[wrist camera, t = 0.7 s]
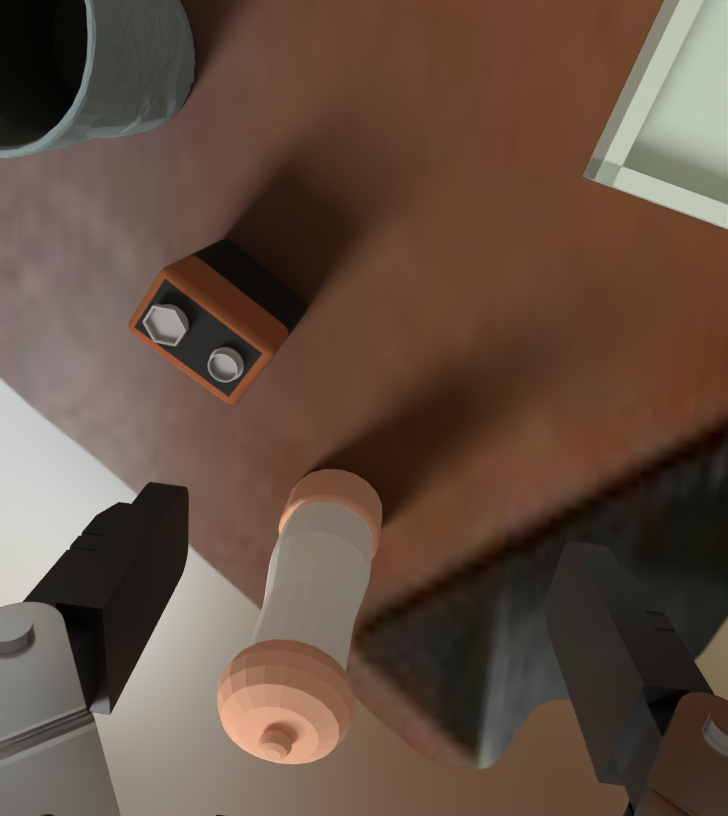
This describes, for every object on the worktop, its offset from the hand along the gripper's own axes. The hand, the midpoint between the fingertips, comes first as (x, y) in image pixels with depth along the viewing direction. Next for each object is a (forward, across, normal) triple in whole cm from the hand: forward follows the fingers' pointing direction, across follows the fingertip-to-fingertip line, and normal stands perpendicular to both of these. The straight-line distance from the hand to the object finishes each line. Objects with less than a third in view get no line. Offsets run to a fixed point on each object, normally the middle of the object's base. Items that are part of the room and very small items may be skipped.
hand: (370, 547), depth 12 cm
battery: (+26, +9, +1) cm, 28 cm away
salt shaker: (+27, +1, +17) cm, 32 cm away
